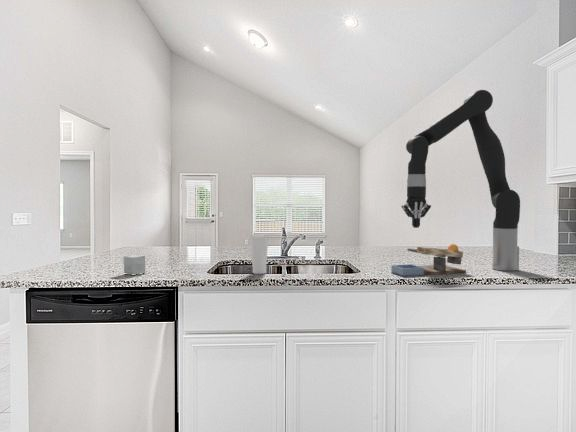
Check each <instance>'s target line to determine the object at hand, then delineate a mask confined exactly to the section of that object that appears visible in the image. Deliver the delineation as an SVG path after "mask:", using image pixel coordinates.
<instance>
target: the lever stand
mask: <svg viewBox="0 0 576 432" xmlns="http://www.w3.org/2000/svg"><path fill="white" fill-rule="evenodd" d="M419 266H420V267H423V268H424V275H423V276H430V275H432V276H433V275H449V274H448V273H452V274H466V273H467V270H466V269H463V268H458V267H454V266H450V265H447V258H446V257H445V258H443V257H439V256H433V264H431V265H430V264H429V265H419Z"/></svg>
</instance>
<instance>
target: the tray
mask: <svg viewBox="0 0 576 432" xmlns="http://www.w3.org/2000/svg"><path fill="white" fill-rule="evenodd" d="M420 266H421V265H415V264H411V263H410V264H391V273H392V274H394V275H397V276H400V277H416V276H417V277H419V276H418V275H421V276H425V275H424V268H423V267H420Z"/></svg>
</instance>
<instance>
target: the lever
mask: <svg viewBox="0 0 576 432" xmlns="http://www.w3.org/2000/svg"><path fill="white" fill-rule="evenodd" d="M406 250H407V251H409V252H412V253H417V254H422V255H428V256H433V257H442V258H446V257H447V258H446V263H448V264H452V265H460V266H461V264H462V259H463V258H464V251H462V250H458V251H451V250H448V248H447V249H446V248H437V247H435V248H434V247H423V246H417V248H407V249H406Z"/></svg>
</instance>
